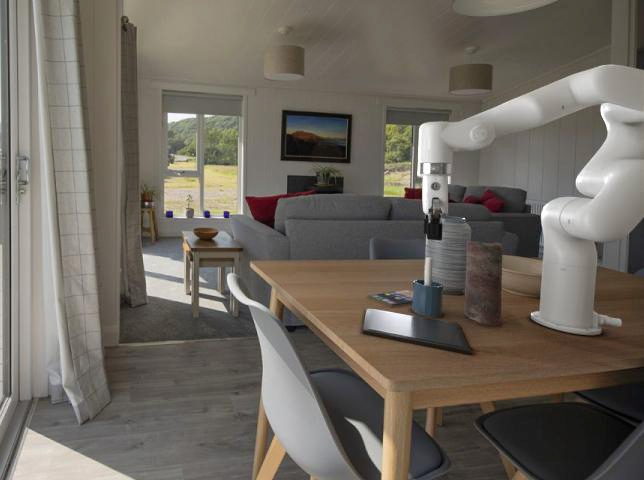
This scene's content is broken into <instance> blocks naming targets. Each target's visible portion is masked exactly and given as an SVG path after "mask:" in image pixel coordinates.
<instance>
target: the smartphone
mask: <svg viewBox="0 0 644 480" xmlns="http://www.w3.org/2000/svg"><path fill="white" fill-rule="evenodd" d="M368 297H370V298H372V299H375V300H377V301H379V302H382V303H384V304H387V305H388V306H398V305H408V304H412V298H413V290H409V289H402V290H401V289H399V290H395V291H389V292H381V293H376V294H369V295H368Z"/></svg>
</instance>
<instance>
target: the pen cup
mask: <svg viewBox="0 0 644 480" xmlns="http://www.w3.org/2000/svg"><path fill="white" fill-rule="evenodd" d="M424 283H425V280H424V278H423V279H422V278H421V279H420V278H417V279H416V278H415V279H413V281H412V291H413V298H412V303H411V310H412V311H413V312H415V313H416V314H420V315H423V316H427V317H440V316H442V315H443V300H444V299H443V298H444V293H443V284H441V283H439V282H436V281H431V286H427V285H424Z"/></svg>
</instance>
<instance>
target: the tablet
mask: <svg viewBox="0 0 644 480" xmlns="http://www.w3.org/2000/svg"><path fill="white" fill-rule="evenodd" d="M362 333H363V334H365V335H368V336H374V337H379V338H384V339H390V340H395V341H399V342H404V343H408V344H415V345H420V346H425V347H430V348H435V349H439V350H445V351H446V350H447V351H451V352H455V353H460V354H465V355H471V352H472V351H471V348H470V347H469V344H468V342H467V340H466V337H465V335H464V334H463V331H462V329H461V327H460V324H459V323H457V322H451V321H445V320H439V319H433V318H428V317H422V316H417V315H409V314H404V313H398V312H394V311H393V312H392V311H388V310H387V311H386V310H381V309H374V308H369V307H367V308H366V311H365V317H364V324H363V331H362Z"/></svg>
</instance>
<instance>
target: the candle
mask: <svg viewBox="0 0 644 480" xmlns="http://www.w3.org/2000/svg"><path fill="white" fill-rule="evenodd" d="M503 251H504V248H503V244H502V243H499V242H494V243H489V242H480V241H477V240H471V241H467V264H466V286H465V290H464V314H465V316H467V317H468V318H469V319H470V320H473V321H475V322H477V323H479V324H482V325H483V324H484V325H491V326H492V325H493V326H498V325H499V324H500V323H501V321H502V285H503V284H502V283H503V282H502V281H503Z"/></svg>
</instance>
